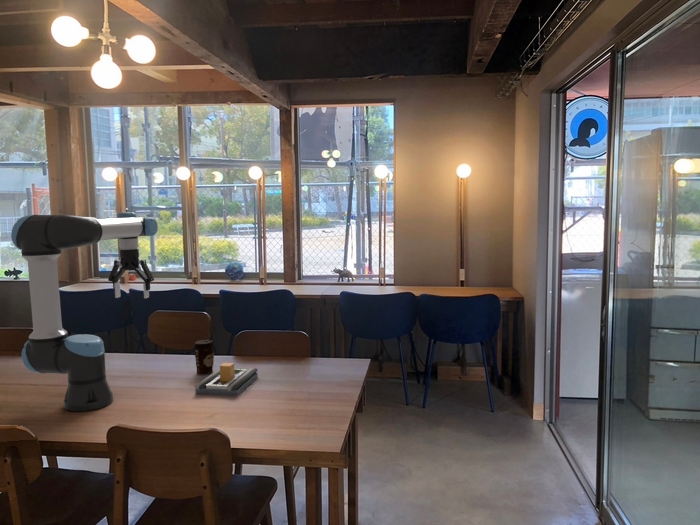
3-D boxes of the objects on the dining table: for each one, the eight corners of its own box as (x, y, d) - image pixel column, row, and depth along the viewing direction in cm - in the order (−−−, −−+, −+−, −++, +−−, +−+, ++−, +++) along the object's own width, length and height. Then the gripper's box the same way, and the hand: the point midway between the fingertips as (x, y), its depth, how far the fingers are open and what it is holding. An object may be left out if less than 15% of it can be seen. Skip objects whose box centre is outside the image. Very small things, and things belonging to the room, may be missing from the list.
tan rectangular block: (230, 381, 197) (229, 366, 196) (220, 381, 198) (219, 365, 197) (234, 378, 201) (234, 363, 200) (224, 377, 202) (224, 362, 201)
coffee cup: (219, 370, 218) (218, 339, 217) (212, 376, 210) (210, 344, 209) (198, 369, 219) (197, 338, 218) (190, 376, 211) (189, 344, 209)
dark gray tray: (235, 391, 187) (235, 387, 187) (194, 389, 190) (194, 385, 190) (257, 371, 209) (257, 368, 208) (220, 370, 211) (220, 366, 211)
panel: (237, 395, 188) (237, 387, 188) (195, 393, 191) (195, 384, 191) (257, 377, 208) (257, 369, 207) (219, 375, 211) (218, 367, 210)
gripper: (160, 247, 229) (163, 296, 232) (108, 247, 234) (111, 295, 236) (151, 249, 222) (153, 299, 224) (97, 249, 227) (100, 298, 229)
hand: (132, 297), depth 230 cm, fingers open, 13 cm apart
